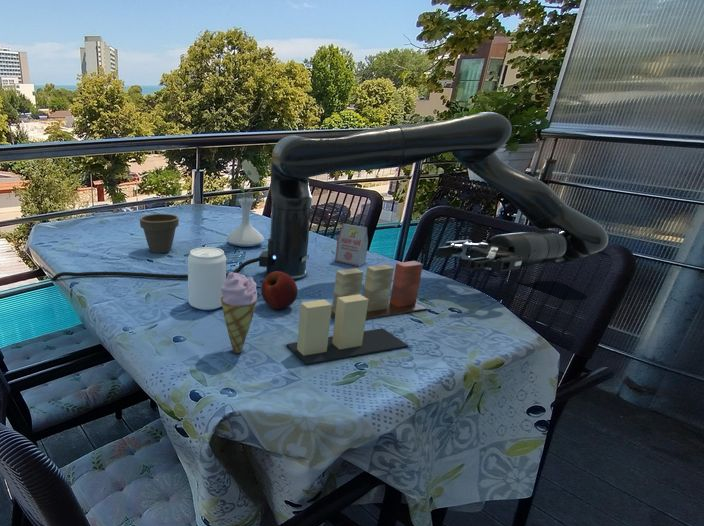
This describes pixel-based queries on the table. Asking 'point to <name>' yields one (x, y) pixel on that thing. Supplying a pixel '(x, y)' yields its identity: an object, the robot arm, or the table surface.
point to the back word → (370, 291)
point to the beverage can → (206, 277)
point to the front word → (339, 332)
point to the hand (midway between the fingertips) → (452, 258)
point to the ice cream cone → (238, 307)
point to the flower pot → (159, 231)
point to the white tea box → (352, 245)
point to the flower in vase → (246, 215)
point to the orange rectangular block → (406, 283)
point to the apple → (279, 290)
